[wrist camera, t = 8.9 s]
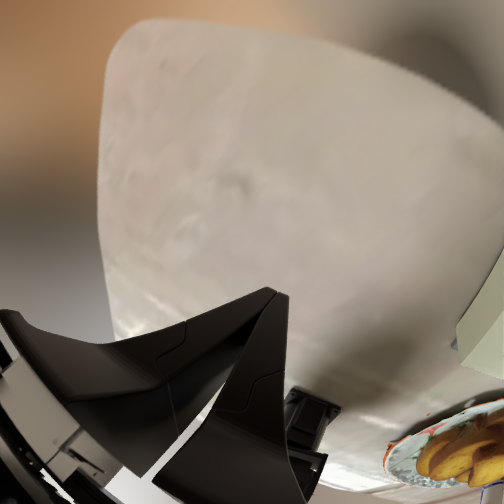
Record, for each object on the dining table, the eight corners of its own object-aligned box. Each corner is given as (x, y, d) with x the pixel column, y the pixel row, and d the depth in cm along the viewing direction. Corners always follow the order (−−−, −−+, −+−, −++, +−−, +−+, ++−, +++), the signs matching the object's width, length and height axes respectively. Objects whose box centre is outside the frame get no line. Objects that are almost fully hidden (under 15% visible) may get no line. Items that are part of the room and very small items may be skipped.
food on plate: (353, 447, 31) (340, 485, 25) (504, 357, 16) (514, 413, 11) (448, 481, 26) (442, 510, 21) (563, 416, 12) (568, 451, 6)
